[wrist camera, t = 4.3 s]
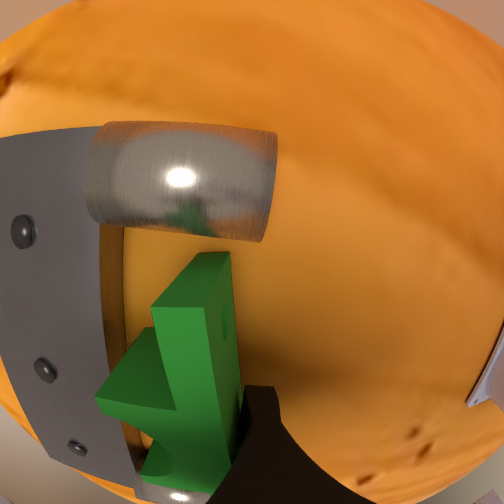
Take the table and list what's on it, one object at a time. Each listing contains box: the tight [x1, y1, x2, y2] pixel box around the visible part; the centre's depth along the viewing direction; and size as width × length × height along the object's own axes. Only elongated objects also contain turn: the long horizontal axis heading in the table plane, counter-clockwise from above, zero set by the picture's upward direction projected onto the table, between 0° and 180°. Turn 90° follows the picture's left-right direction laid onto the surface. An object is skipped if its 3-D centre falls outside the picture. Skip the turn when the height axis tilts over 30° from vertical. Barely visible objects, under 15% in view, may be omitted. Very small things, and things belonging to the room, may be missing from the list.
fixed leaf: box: [0, 121, 277, 504], centre depth 9 cm, size 12×19×3 cm, turn 172°
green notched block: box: [94, 252, 243, 497], centre depth 9 cm, size 11×4×5 cm, turn 3°
